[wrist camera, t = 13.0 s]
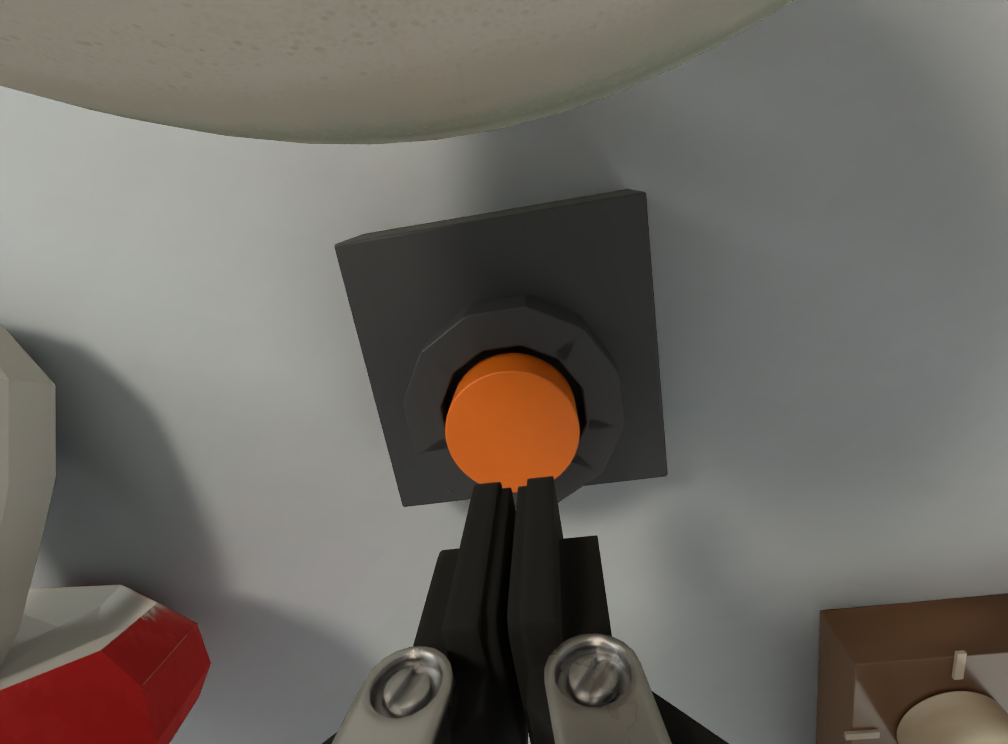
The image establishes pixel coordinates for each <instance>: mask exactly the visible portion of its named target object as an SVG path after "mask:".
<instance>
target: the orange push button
mask: <svg viewBox="0 0 1008 744" xmlns="http://www.w3.org/2000/svg"><path fill="white" fill-rule="evenodd" d="M445 436H446V442H447V446H448V449H449V452H450V454H451V456H452V458H453V459H454V461H455V463H456V464H457V465H458V467H459V468H460V469H461V470H462V471H463V472H464V473H465V474H466V475H467V476H468V477H470V478H471V479H472V480H474V481H475V482H477V483H479V484H483V483H492V482H501V484H502V487H503V488H510V487H511V489H512V492H518V487H519V486H527V479H529V478H538V477H547V476H553V477H554V480H555V479H556V478H557V477H558V476H560V475H561V474H562V473H563V472H564V471H565V470H566V468H567V467H568V466H569V464H570V463H571V461H572V460H573V458H574V456H575V454H576V451H577V448H578V444H579V438H580V426H579V420H578V414H577V409H576V403H575V399H574V395H573V392H572V389H571V387H570V385H569V383H568V382H567V380H566V379H565V377H564V376H563V375H562V374H561V373H560V372H559V371H558V370H557V369H556V368H555V367H554V366H552V365H551V364H549V363H548V362H546V361H544V360H542V359H540V358H538V357H535V356H532V355H528V354H523V353H503V354H499V355H494V356H492V357H489V358H486V359H484V360H482V361H480V362H479V363H477V364H476V365H474V366H473V367H472V368H471V369H470V370H469V371H468V372H467V373H466V374H465V375H464V376H463V378H462V379H461V381H460V382H459V384H458V386H457V389H456V391H455V394H454V397H453V399H452V402H451V405H450V408H449V411H448V414H447V417H446V424H445Z"/></svg>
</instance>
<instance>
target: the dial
mask: <svg viewBox="0 0 1008 744" xmlns="http://www.w3.org/2000/svg"><path fill="white" fill-rule="evenodd" d="M897 742H898V744H1008V713H1007V712H1006V711H1005V710H1004V709H1003V708H1002V706H1001V705H1000V704H999V703H997V702H996V701H995V700H993V699H992V698H990V697H988V696H986V695H983V694H980V693H976V692H970V691H953V692H946V693H941V694H938V695H934V696H932V697H929V698H927V699H925V700H923V701H921V702H919V703H918V704H916V705H915V706H913V707H912V708H911V709H910V710H909V711H908V712H907V713H906V714H905V715H904V716H903V718H902V719H901V721H900V723H899V725H898V728H897Z"/></svg>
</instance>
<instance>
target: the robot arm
mask: <svg viewBox="0 0 1008 744" xmlns="http://www.w3.org/2000/svg"><path fill="white" fill-rule="evenodd" d="M528 733H529V737H530V742H531V744H729V743H727V742H726V741H724V740H723V739H721V738H720V737H718V736H717V735H715V734H714V733H712V732H711V731H710V730H708V729H707V728H705V727H704V726H702V725H701V724H699V723H698V722H696V721H695V720H693V719H692V718H691V717H689V716H688V715H686V714H685V713H683V712H682V711H680V710H679V709H677V708H676V707H674V706H673V705H672V704H670V703H669V702H667V701H666V700H664V699H663V698H661V697H660V696H658V695H657V694H655V693H654V692H653V691H651V688H650V686H649V683H648V681H647V678H646V675H645V673H644V670H643V668H642V665H641V662H640V661H639V659H638V657H637V656H636V654H635V652H634V651H633V650H632V649H631V648H630V647H629V646H627V645H626V644H625V643H624V642H623V641H620V640H618V639H616V638H614V637H612V634H611V627H610V620H609V613H608V606H607V599H606V593H605V586H604V579H603V572H602V565H601V558H600V551H599V544H598V537H597V536H587V537H576V538H566V539H563V534H562V527H561V521H560V514H559V508H558V501H557V495H556V488H555V482H554V477H553V476H547V477H538V478H529V479H527V486H519V487H518V493H517V504H516V509H515V504H514V498H513V493H512V489H511V487H510V488H503V487H502V484H501V482H492V483H483V484H475V485H474V487H473V492H472V496H471V501H470V505H469V509H468V514H467V518H466V523H465V527H464V531H463V536H462V540H461V545H460V549H450V550H442V551H441V552H440V554H439V556H438V559H437V563H436V566H435V570H434V573H433V577H432V581H431V584H430V588H429V591H428V595H427V598H426V602H425V606H424V609H423V613H422V616H421V620H420V624H419V627H418V631H417V634H416V638H415V642H414V645H413V647H408V648H405V649H402V650H399V651H396V652H394V653H393V654H391V655H389V656H387V657H386V658H384V659H383V660H382V661H380V662H379V663H378V664H377V665H376V666H375V667H374V668H373V669H372V670H371V671H370V673H369V674H368V676H367V677H366V679H365V680H364V682H363V684H362V686H361V688H360V690H359V692H358V693H357V695H356V697H355V699H354V701H353V703H352V705H351V707H350V709H349V711H348V713H347V715H346V717H345V719H344V721H343V722H342V724H341V726H340V728H339V730H338V732H336V733H335V734H334V735H333V736H331V737H330V738H329V739H327V740H326V741H325V742H323V743H322V744H528Z"/></svg>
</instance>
